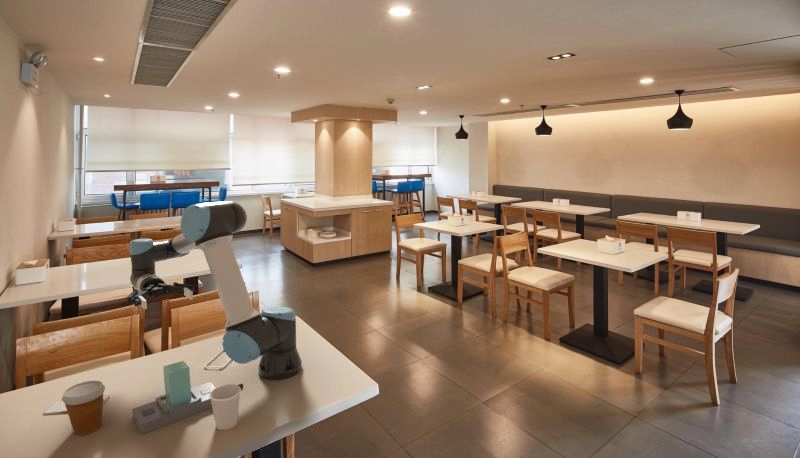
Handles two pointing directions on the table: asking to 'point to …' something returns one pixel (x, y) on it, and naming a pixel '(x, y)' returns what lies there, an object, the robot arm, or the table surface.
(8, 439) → the table surface
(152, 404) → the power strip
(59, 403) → the smartphone
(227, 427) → the dixie cup
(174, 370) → the teal tall block
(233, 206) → the robot arm
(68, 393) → the disposable coffee cup
